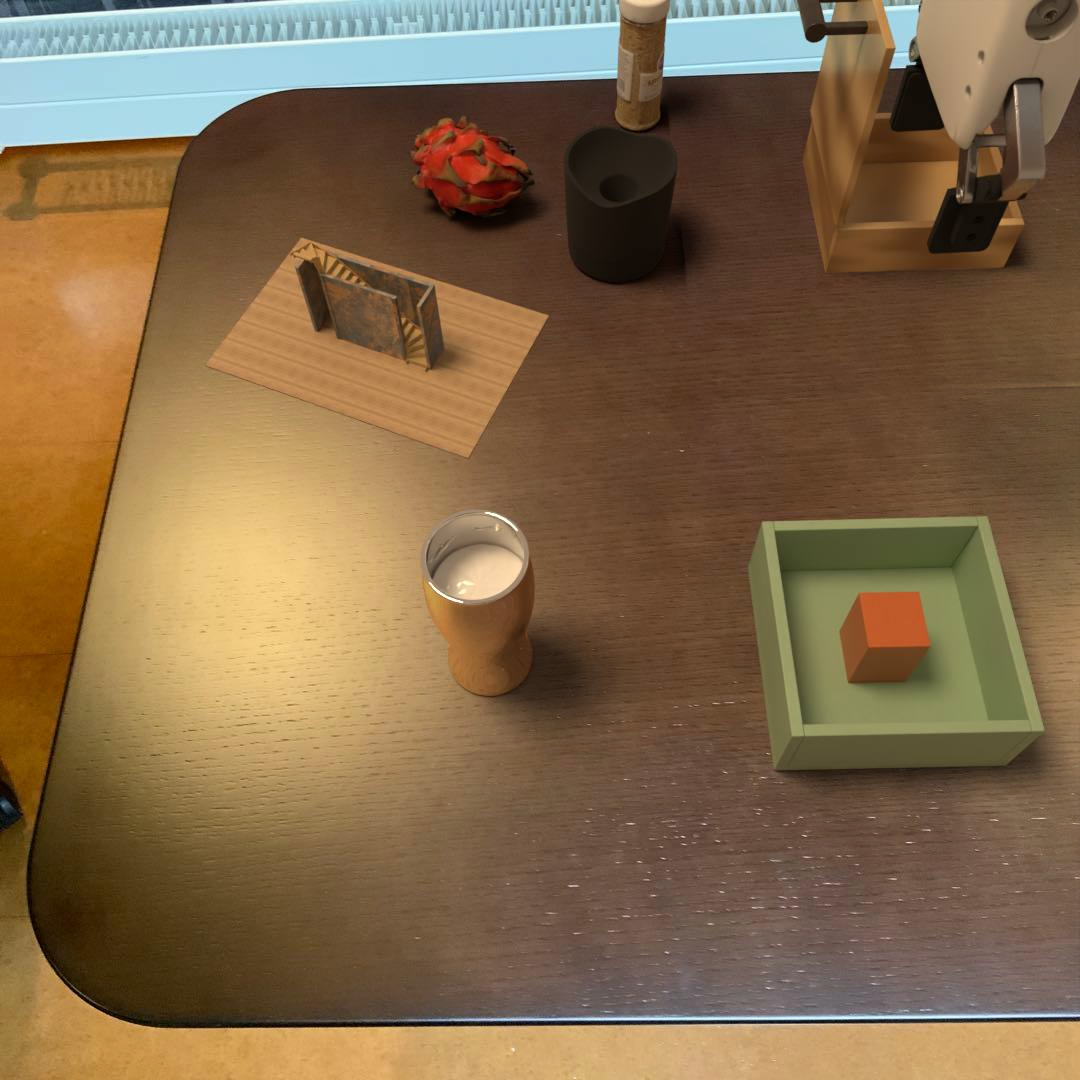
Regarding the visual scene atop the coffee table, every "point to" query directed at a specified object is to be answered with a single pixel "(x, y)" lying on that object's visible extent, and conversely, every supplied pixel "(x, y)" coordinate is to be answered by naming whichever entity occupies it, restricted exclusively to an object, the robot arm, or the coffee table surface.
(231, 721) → the coffee table surface
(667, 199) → the pen holder
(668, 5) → the spice jar
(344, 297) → the architectural model on board
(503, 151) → the dragon fruit
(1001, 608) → the open box
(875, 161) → the chest
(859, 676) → the block
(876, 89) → the lid
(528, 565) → the beer glass
